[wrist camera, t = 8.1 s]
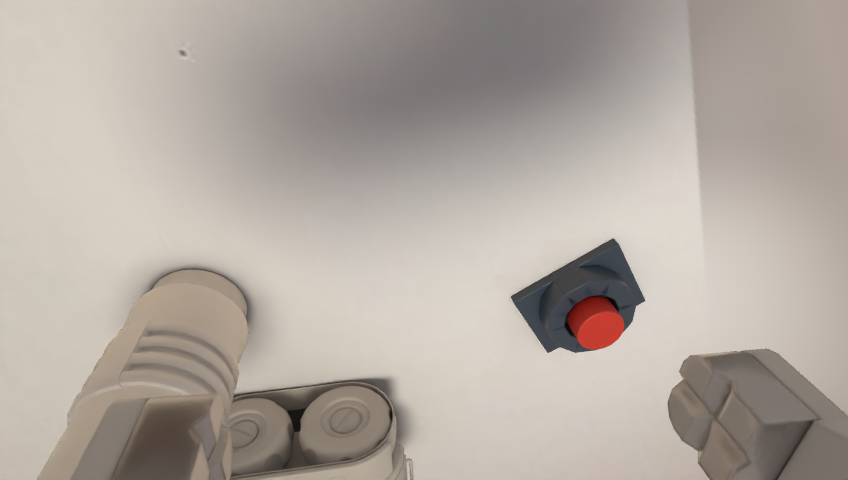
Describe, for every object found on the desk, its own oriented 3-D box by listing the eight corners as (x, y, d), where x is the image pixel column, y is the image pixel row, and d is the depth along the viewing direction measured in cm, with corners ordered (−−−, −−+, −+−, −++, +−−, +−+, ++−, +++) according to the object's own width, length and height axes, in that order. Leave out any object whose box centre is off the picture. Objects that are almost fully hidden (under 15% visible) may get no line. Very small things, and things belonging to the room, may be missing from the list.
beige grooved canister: (218, 246, 29) (120, 471, 17) (273, 327, 33) (227, 564, 20) (115, 285, 30) (-60, 534, 17) (180, 361, 33) (77, 615, 21)
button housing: (613, 237, 33) (631, 257, 31) (640, 295, 36) (659, 317, 34) (510, 296, 34) (521, 318, 32) (545, 347, 37) (557, 371, 35)
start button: (603, 287, 32) (615, 303, 31) (618, 317, 34) (631, 334, 33) (560, 311, 33) (570, 328, 31) (577, 339, 35) (588, 357, 33)
